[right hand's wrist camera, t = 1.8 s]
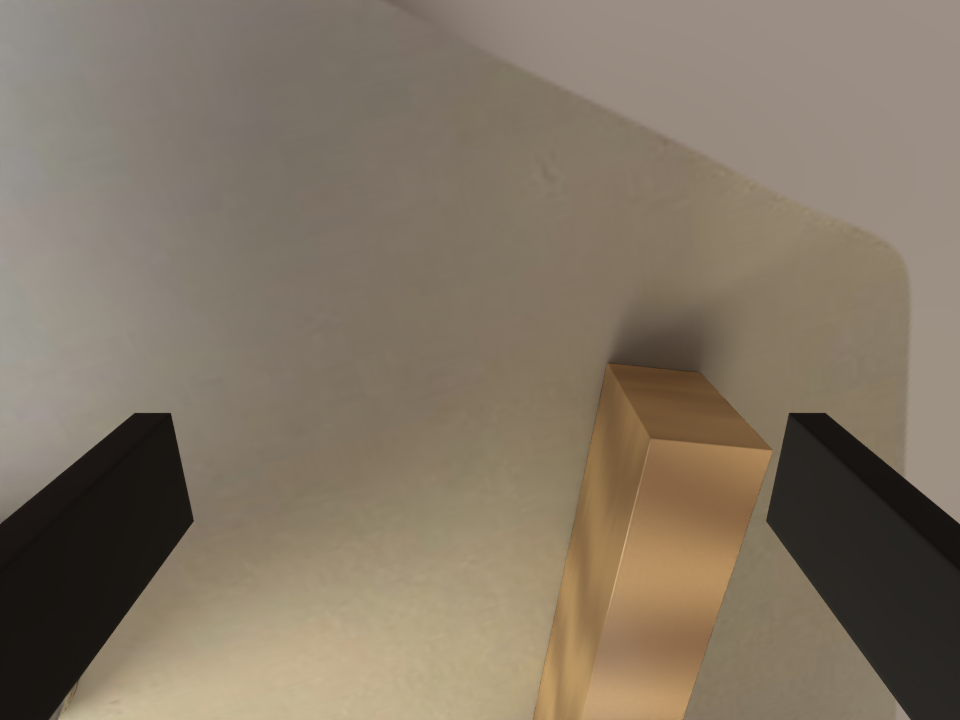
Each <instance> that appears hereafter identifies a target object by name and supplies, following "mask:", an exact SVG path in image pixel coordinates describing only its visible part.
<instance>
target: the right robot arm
mask: <svg viewBox="0 0 960 720" xmlns="http://www.w3.org/2000/svg"><path fill="white" fill-rule="evenodd" d="M193 521H194V520H193V515H192V510H191V505H190V501H189V496H188V491H187V487H186V482H185V477H184V473H183V468H182V463H181V459H180V454H179V449H178V444H177V440H176V435H175V430H174V426H173V421H172V416H171V413H134V414H133V415H132V416H131V417H129V418H128V419H127V420H126V421H125V422H123V423H122V424H121V425H120V426H118V427H117V428H116V429H115V430H114V431H112V432H111V433H110V434H109V435H108V436H106V437H105V438H104V439H103V440H102V441H100V442H99V443H98V444H97V445H95V446H94V447H93V448H92V449H91V450H89V451H88V452H87V453H86V454H85V455H83V456H82V457H81V458H80V459H79V460H77V461H76V462H75V463H74V464H72V465H71V466H70V467H69V468H68V469H66V470H65V471H64V472H63V473H62V474H60V475H59V476H58V477H57V478H56V479H54V480H53V481H52V482H51V483H50V484H48V485H47V486H46V487H45V488H43V489H42V490H41V491H40V492H39V493H37V494H36V495H35V496H34V497H33V498H31V499H30V500H29V501H28V502H27V503H25V504H24V505H23V506H22V507H20V508H19V509H18V510H17V511H16V512H14V513H13V514H12V515H11V516H10V517H8V518H7V519H6V520H5V521H4V522H2V523H1V524H0V720H58V719H59V718H60V716H61V715H62V713H63V712H64V711H65V709H66V708H67V706H68V705H69V703H70V702H71V700H72V698H73V696H74V693H75V690H76V686H77V681H78V679H79V678H80V677H81V675H82V674H83V673H84V671H85V670H86V668H87V667H88V666H89V664H90V663H91V662H92V660H93V659H94V657H95V656H96V655H97V653H98V652H99V651H100V649H101V648H102V647H103V645H104V644H105V642H106V641H107V640H108V638H109V637H110V636H111V634H112V633H113V631H114V630H115V629H116V627H117V626H118V625H119V623H120V622H121V620H122V619H123V618H124V616H125V615H126V614H127V612H128V611H129V609H130V608H131V607H132V605H133V604H134V603H135V601H136V600H137V598H138V597H139V596H140V594H141V593H142V592H143V590H144V589H145V587H146V586H147V585H148V583H149V582H150V581H151V579H152V578H153V576H154V575H155V574H156V572H157V571H158V570H159V568H160V567H161V565H162V564H163V563H164V561H165V560H166V559H167V557H168V556H169V554H170V553H171V552H172V550H173V549H174V548H175V546H176V545H177V543H178V542H179V541H180V539H181V538H182V537H183V535H184V534H185V532H186V531H187V530H188V528H189V527H190V526H191V524H192V523H193ZM766 521H767V523H768V524H769V526H770V527H771V528H772V530H773V531H774V532H775V534H776V535H777V537H778V538H779V539H780V541H781V542H782V543H783V545H784V546H785V548H786V549H787V550H788V552H789V553H790V554H791V556H792V557H793V559H794V560H795V561H796V563H797V564H798V565H799V567H800V568H801V570H802V571H803V572H804V574H805V575H806V576H807V578H808V579H809V581H810V582H811V583H812V585H813V586H814V587H815V589H816V590H817V592H818V593H819V594H820V596H821V597H822V598H823V600H824V601H825V603H826V604H827V605H828V607H829V608H830V609H831V611H832V612H833V614H834V615H835V616H836V618H837V619H838V620H839V622H840V623H841V625H842V626H843V627H844V629H845V630H846V631H847V633H848V634H849V636H850V637H851V638H852V640H853V641H854V642H855V644H856V645H857V647H858V648H859V649H860V651H861V652H862V653H863V655H864V656H865V657H866V659H867V660H868V662H869V663H870V664H871V666H872V667H873V668H874V670H875V671H876V673H877V674H878V675H879V677H880V678H881V679H882V681H883V682H884V684H885V685H886V686H887V688H888V689H889V690H890V692H891V693H892V695H893V696H894V697H895V699H896V700H897V701H898V703H899V704H900V706H901V707H902V708H903V710H904V711H905V712H906V714H907V715H908V717H909V718H910V719H911V720H960V524H959V523H958V522H956V521H955V520H954V519H953V518H952V517H950V516H949V515H948V514H947V513H946V512H944V511H943V510H942V509H941V508H940V507H938V506H937V505H936V504H935V503H933V502H932V501H931V500H930V499H929V498H927V497H926V496H925V495H924V494H923V493H921V492H920V491H919V490H918V489H917V488H915V487H914V486H913V485H912V484H910V483H909V482H908V481H907V480H906V479H904V478H903V477H902V476H901V475H900V474H898V473H897V472H896V471H895V470H894V469H892V468H891V467H890V466H889V465H888V464H886V463H885V462H884V461H883V460H881V459H880V458H879V457H878V456H877V455H875V454H874V453H873V452H872V451H871V450H869V449H868V448H867V447H866V446H865V445H863V444H862V443H861V442H860V441H858V440H857V439H856V438H855V437H854V436H852V435H851V434H850V433H849V432H848V431H846V430H845V429H844V428H843V427H842V426H840V425H839V424H838V423H837V422H835V421H834V420H833V419H832V418H831V417H829V416H828V415H827V414H826V413H789V416H788V421H787V426H786V430H785V435H784V440H783V444H782V449H781V454H780V459H779V463H778V468H777V473H776V477H775V482H774V487H773V491H772V496H771V501H770V505H769V510H768V515H767V520H766Z"/></svg>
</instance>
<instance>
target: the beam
mask: <svg viewBox="0 0 960 720" xmlns="http://www.w3.org/2000/svg"><path fill="white" fill-rule="evenodd" d="M772 453H773V450H772V449H771V448H770V446H769V445H768V444H767V443H766V442H765V441H764V440H763V439H762V438H761V437H760V436H759V435H758V434H757V433H756V432H755V430H754V429H753V428H752V427H751V426H750V425H749V424H748V423H747V422H746V421H745V420H744V419H743V418H742V417H741V416H740V414H739V413H738V412H737V411H736V410H735V409H734V408H733V407H732V406H731V405H730V404H729V403H728V402H727V401H726V400H725V398H724V397H723V396H722V395H721V394H720V393H719V392H718V391H717V390H716V389H715V388H714V387H713V386H712V385H711V384H710V382H709V381H708V380H707V379H706V378H705V377H704V376H703V375H702V374H701V373H697V372H688V371H678V370H668V369H659V368H649V367H640V366H630V365H621V364H611V363H607V367H606V372H605V377H604V381H603V386H602V391H601V396H600V401H599V405H598V410H597V415H596V420H595V425H594V429H593V434H592V439H591V444H590V449H589V454H588V458H587V463H586V468H585V473H584V478H583V482H582V487H581V492H580V497H579V502H578V506H577V511H576V516H575V521H574V526H573V530H572V535H571V540H570V545H569V550H568V554H567V559H566V564H565V569H564V574H563V578H562V583H561V588H560V593H559V598H558V603H557V607H556V612H555V617H554V622H553V627H552V631H551V636H550V641H549V646H548V651H547V655H546V660H545V665H544V670H543V675H542V679H541V684H540V689H539V694H538V699H537V703H536V708H535V713H534V718H533V720H683V717H684V714H685V711H686V708H687V705H688V702H689V699H690V696H691V693H692V690H693V687H694V685H695V682H696V679H697V676H698V673H699V670H700V667H701V664H702V661H703V658H704V655H705V652H706V649H707V646H708V643H709V640H710V637H711V634H712V631H713V628H714V625H715V622H716V619H717V616H718V613H719V610H720V607H721V604H722V601H723V598H724V595H725V592H726V589H727V586H728V583H729V580H730V577H731V574H732V571H733V569H734V566H735V563H736V560H737V557H738V554H739V551H740V548H741V545H742V542H743V539H744V536H745V533H746V530H747V527H748V524H749V521H750V518H751V515H752V512H753V509H754V506H755V503H756V500H757V497H758V494H759V491H760V488H761V485H762V482H763V479H764V476H765V473H766V470H767V467H768V464H769V461H770V458H771V456H772Z"/></svg>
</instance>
